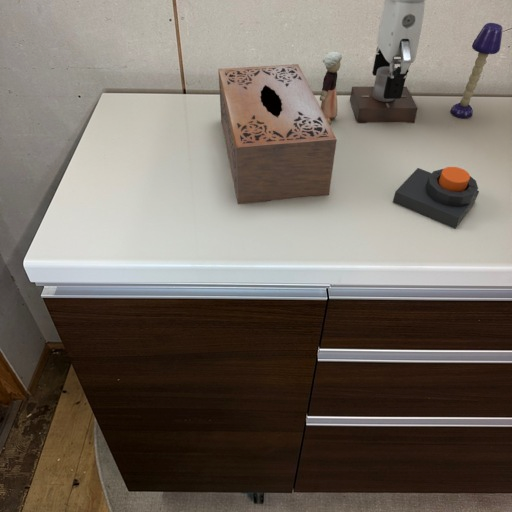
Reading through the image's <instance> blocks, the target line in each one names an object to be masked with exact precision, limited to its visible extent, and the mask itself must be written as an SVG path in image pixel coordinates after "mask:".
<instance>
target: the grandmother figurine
mask: <svg viewBox="0 0 512 512" xmlns="http://www.w3.org/2000/svg"><path fill="white" fill-rule="evenodd" d="M342 59H343V55H342V54H341V53H340V52H337V51H330V52H327V54H326V55H325V56H324V58H323V59H322V63H324V66H325V69H326V73H325V75H324V76H323V82H322V87H321V92H320V96H319V101H321V103H320V108H321V110H322V112H323V114H324V116H325V118H326V119H327V121H328V123H329V125H331V124H332V119H334V118H335V117H337V116H338V93H337V81H338V71H339V70H340V68H341V61H342Z"/></svg>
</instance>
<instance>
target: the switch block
mask: <svg viewBox="0 0 512 512" xmlns="http://www.w3.org/2000/svg"><path fill="white" fill-rule="evenodd" d="M443 169H444V168H441V169H437V170H434V171H432V172H430V171H427V170H424V169H422V168H419V167H417V168H416V169H415V170H414V172H413V173H412V174H410V175H409V177H408V178H407V179H406V180H405V181H404V182H403V183H402V184H401V185H400V186H399V187H398V188H397V189H396V190H395V193H394V196H393V199H392V203H393V204H396V205H398V206H401V207H402V208H404V209H407V210H410V211H412V212H414V213H416V214H419V215H421V216H424V217H426V218H428V219H431V220H433V221H435V222H438V223H440V224H442V225H445V226H447V227H450V228H452V229H454V230H456V229H457V227H458V226H459V224H460V223H461V222H462V221H463V219H464V217H465V216H466V215H467V214H468V212H469V211H470V210H471V208H472V207H473V205H475V202H476V200H477V198H478V196H479V193H480V190H478V189H479V186H478V183H477V180H476V179H474V178H473V177H472V176H471V175H470V180H469V182H468V185H467V187H466V189H465V190H463V191H461V192H455V191H449V190H447V189H444V188H442V187H441V186H440V184H439V178H440V176H441V173H442V170H443Z"/></svg>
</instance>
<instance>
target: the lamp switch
mask: <svg viewBox="0 0 512 512" xmlns="http://www.w3.org/2000/svg"><path fill="white" fill-rule="evenodd" d="M442 169H443V170H442V173H441V176H440V178H439V184H440V186H441V187H442V188H444V189H447V190H449V191H455V192H461V191H463V190H465V189H466V187H467V185H468V182H469V180H470V176H471V174H470V173H469V172H468V171H467V170H465V169H463V168H461V167H458V166H446V167H444V168H442Z"/></svg>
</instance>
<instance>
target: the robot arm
mask: <svg viewBox="0 0 512 512" xmlns="http://www.w3.org/2000/svg"><path fill="white" fill-rule="evenodd" d="M425 1H426V0H384V3H383V7H382V12H381V16H380V21H379V25H378V30H377V41H376V43H377V46H376V51H375V53H376V54H375V56H374V62H373V67H372V75H373V76H375V77H376V74H377V70H378V68H380V67H390V76H387V80H386V85H385V90H384V95H383V97H384V98H385V99H400V98H401V96H402V92H403V88H404V87H405V84H406V79H407V76H408V73H409V72H410V66H411V65H412V64H413V63H414V62H415V60H416V57H417V53H418V49H419V44H420V39H421V32H422V27H423V20H424V14H425V5H426V4H425V3H426V2H425ZM396 65H399V66H397V67H395V66H396ZM395 68H396V70H395Z"/></svg>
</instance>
